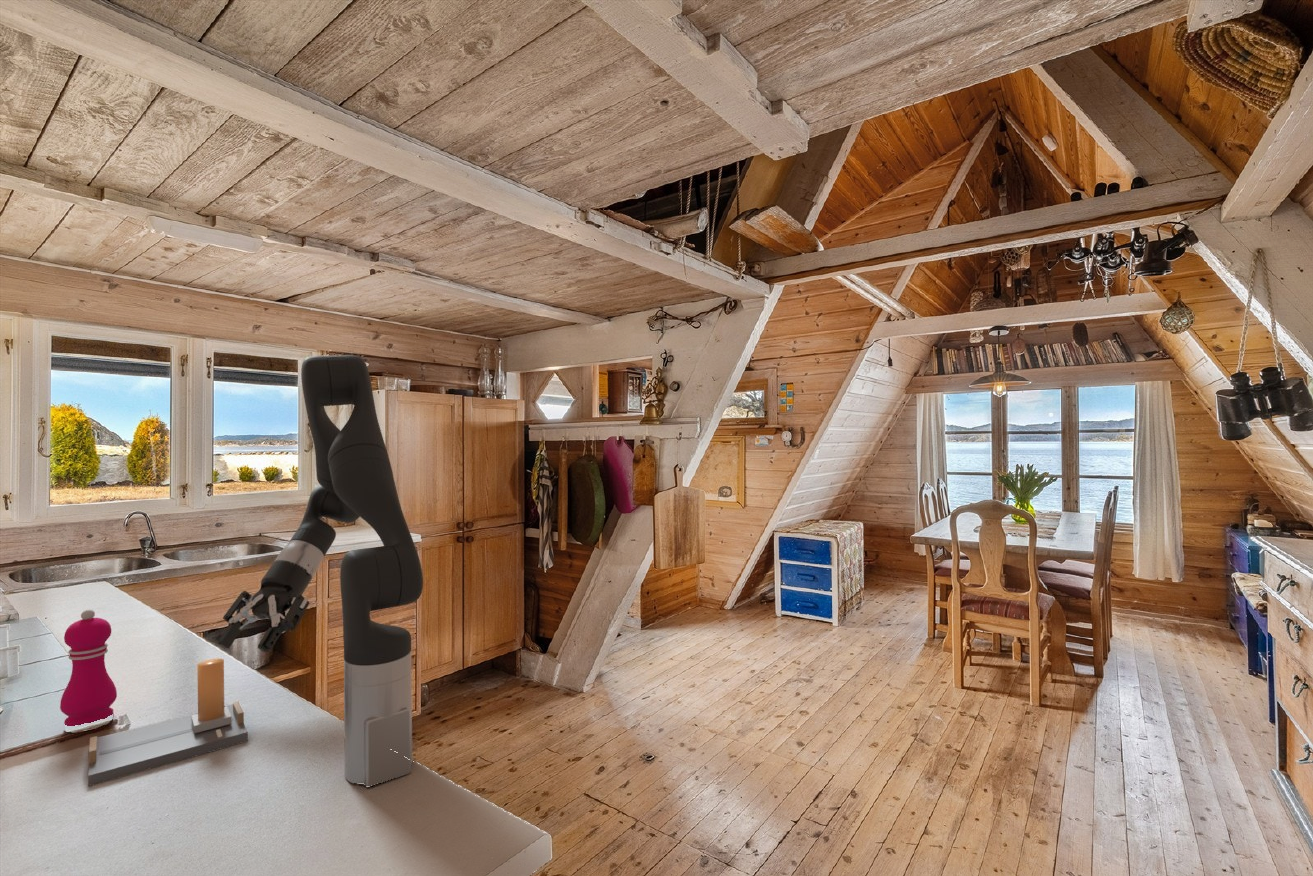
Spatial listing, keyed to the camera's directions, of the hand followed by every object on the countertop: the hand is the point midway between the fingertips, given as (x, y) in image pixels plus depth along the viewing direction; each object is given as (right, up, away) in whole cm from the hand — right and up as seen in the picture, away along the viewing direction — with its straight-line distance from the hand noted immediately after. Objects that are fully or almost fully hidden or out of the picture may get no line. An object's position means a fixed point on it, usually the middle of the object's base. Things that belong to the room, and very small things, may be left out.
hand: (242, 648), depth 109 cm
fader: (-1, -11, -6) cm, 12 cm away
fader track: (-5, -12, -9) cm, 16 cm away
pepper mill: (-25, -13, -3) cm, 28 cm away
